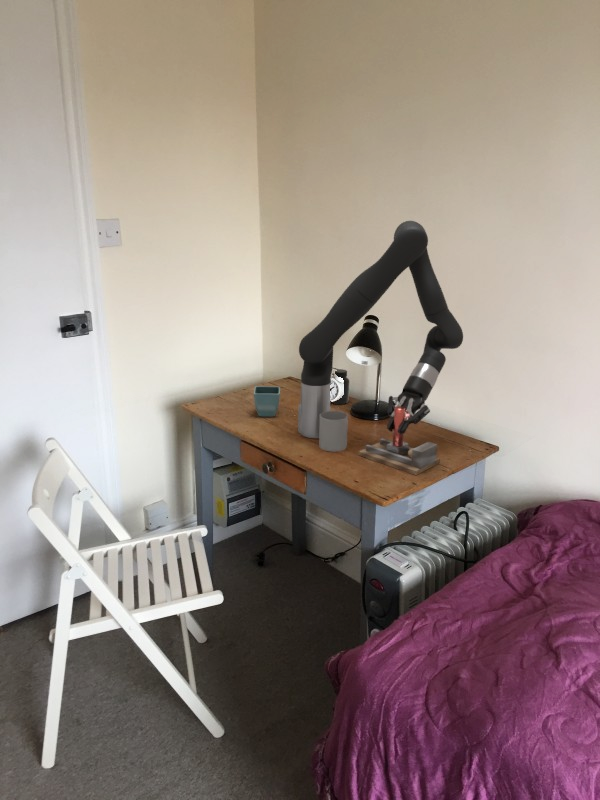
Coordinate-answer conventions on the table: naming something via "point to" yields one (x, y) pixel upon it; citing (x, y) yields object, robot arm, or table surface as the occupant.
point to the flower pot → (266, 400)
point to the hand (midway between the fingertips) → (394, 431)
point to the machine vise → (409, 462)
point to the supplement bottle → (343, 375)
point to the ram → (398, 444)
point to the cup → (333, 431)
